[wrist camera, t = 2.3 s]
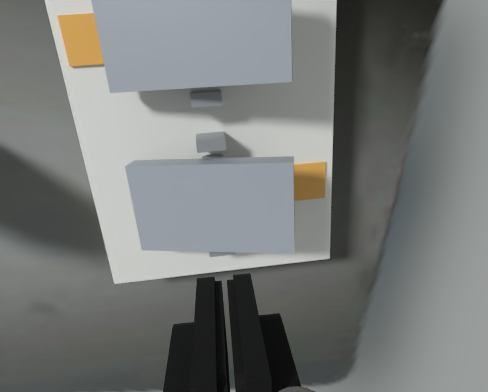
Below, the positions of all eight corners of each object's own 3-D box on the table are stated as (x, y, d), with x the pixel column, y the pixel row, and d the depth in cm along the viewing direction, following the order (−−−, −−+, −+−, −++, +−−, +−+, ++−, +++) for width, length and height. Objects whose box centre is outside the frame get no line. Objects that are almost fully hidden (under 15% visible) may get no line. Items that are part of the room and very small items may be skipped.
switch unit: (-2, -314, 16) (-102, -493, 11) (319, -311, 17) (369, -474, 12) (125, 256, 26) (106, 301, 21) (315, 235, 28) (339, 273, 23)
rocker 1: (109, -19, 17) (85, -29, 15) (291, -42, 16) (289, -56, 14) (129, 89, 19) (109, 93, 17) (293, 79, 17) (292, 81, 16)
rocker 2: (141, 156, 20) (124, 166, 18) (294, 151, 19) (293, 162, 17) (155, 233, 22) (141, 250, 20) (295, 235, 21) (294, 253, 19)
